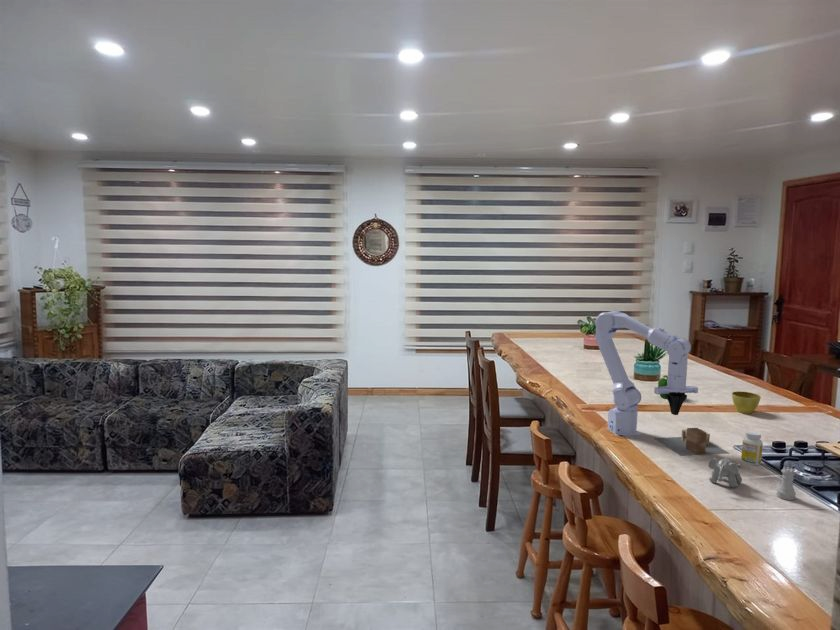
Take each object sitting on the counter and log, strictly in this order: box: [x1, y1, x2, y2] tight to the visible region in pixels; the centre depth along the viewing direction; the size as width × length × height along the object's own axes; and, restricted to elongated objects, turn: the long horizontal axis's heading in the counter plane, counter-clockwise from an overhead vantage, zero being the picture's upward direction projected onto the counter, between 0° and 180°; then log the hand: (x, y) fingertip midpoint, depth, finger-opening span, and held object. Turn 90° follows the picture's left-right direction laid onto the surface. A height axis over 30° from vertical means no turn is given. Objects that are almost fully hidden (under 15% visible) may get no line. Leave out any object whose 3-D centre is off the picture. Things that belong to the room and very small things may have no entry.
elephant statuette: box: [708, 457, 743, 489], centre depth 157 cm, size 9×12×8 cm
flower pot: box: [731, 390, 762, 415], centre depth 225 cm, size 10×10×7 cm
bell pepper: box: [657, 374, 668, 399], centre depth 245 cm, size 8×8×10 cm
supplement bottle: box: [740, 430, 764, 466], centre depth 173 cm, size 5×5×10 cm
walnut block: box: [686, 427, 708, 454], centre depth 181 cm, size 4×5×7 cm
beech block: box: [681, 428, 711, 444], centre depth 190 cm, size 4×5×7 cm
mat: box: [653, 436, 729, 457], centre depth 187 cm, size 17×16×1 cm
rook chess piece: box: [776, 466, 797, 501], centre depth 149 cm, size 4×4×8 cm
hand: (674, 414), depth 187 cm, fingers closed
